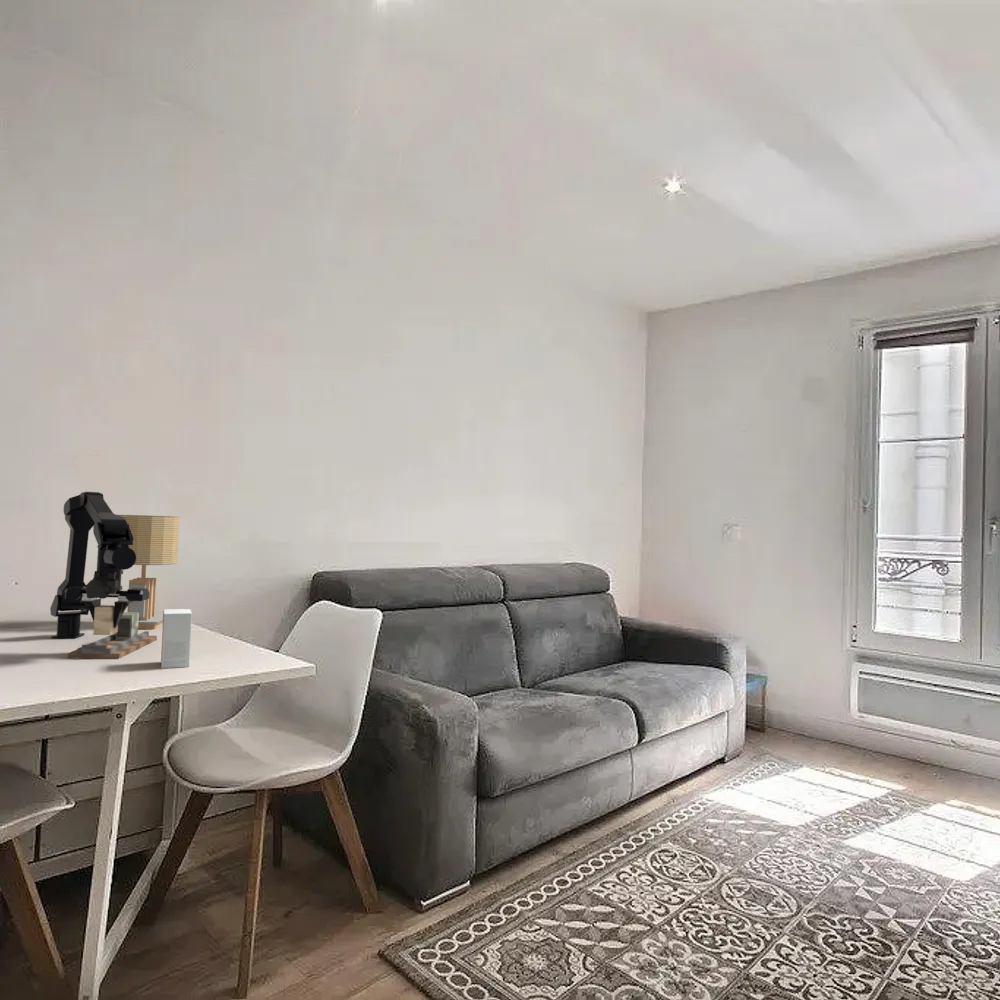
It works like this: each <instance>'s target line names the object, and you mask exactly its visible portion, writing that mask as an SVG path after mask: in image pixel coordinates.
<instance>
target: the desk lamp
mask: <svg viewBox="0 0 1000 1000" xmlns="http://www.w3.org/2000/svg"><path fill="white" fill-rule="evenodd" d="M118 515H119V516H122V517H123V518H124V519H125V520H126V521H127V523H128V524H129V527H130V529H131V532H132V535H133V538H134V539H133V545H129V548H131V549H132V550H133V551H134V552H135V554H136V562H135V564H134V565H133V566H141V574H140V575H141V576H140V577H136V578H132V579H129V580H128V589H132V588H147V589H148V590H149V599H147V600H144V601H134V602H131V603H129V605H128V606H127V611H126V612H134V613H139V621H138V630H156V629H157V628H158V627H160V626H163V614H156V598H157V582H158V578H157V577H147V576H146V575H147V566H166V565H169V566H170V565H176V564H178V549H179V548H178V547H179V530H180V529H179V528H180V516H170V515H169V516H168V515H166V516H165V515H143V514H142V515H141V514H139V515H137V514H118ZM124 539H125V538H124Z"/></svg>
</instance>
